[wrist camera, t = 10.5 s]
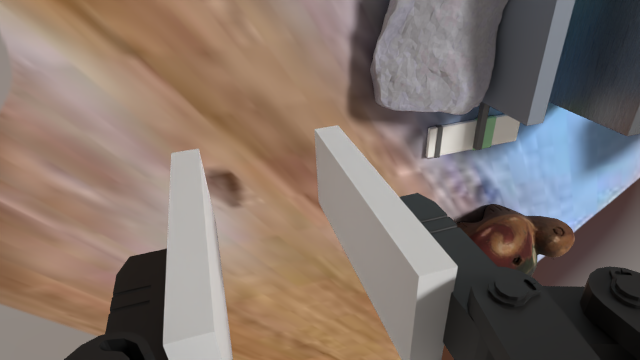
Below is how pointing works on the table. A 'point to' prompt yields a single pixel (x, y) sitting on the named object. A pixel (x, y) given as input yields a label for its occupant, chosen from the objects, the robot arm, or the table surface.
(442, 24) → the stone block
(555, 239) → the decorative turtle
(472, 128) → the pale flat strip
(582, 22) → the dark gray block
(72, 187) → the table surface
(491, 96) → the gauge plate
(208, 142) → the table surface
